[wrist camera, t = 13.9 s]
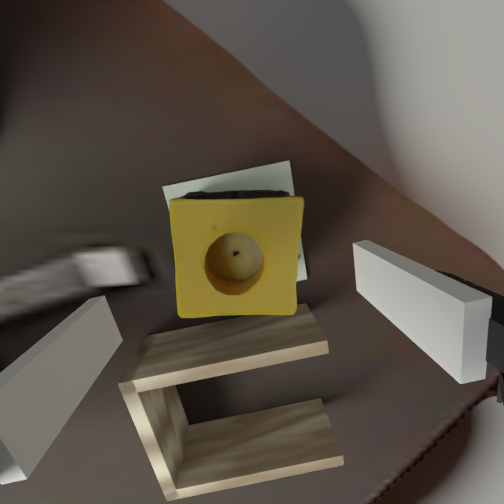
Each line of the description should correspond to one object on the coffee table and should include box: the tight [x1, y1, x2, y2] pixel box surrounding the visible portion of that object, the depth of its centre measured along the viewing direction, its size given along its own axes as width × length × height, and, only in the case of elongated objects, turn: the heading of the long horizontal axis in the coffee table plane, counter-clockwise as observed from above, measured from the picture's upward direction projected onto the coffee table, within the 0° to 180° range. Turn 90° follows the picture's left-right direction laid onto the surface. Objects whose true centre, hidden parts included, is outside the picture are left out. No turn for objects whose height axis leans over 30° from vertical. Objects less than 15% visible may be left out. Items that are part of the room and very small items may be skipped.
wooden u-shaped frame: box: [118, 303, 344, 501], centre depth 31 cm, size 17×21×8 cm
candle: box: [169, 190, 304, 318], centre depth 24 cm, size 10×10×10 cm
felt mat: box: [163, 161, 307, 281], centre depth 29 cm, size 14×14×1 cm
